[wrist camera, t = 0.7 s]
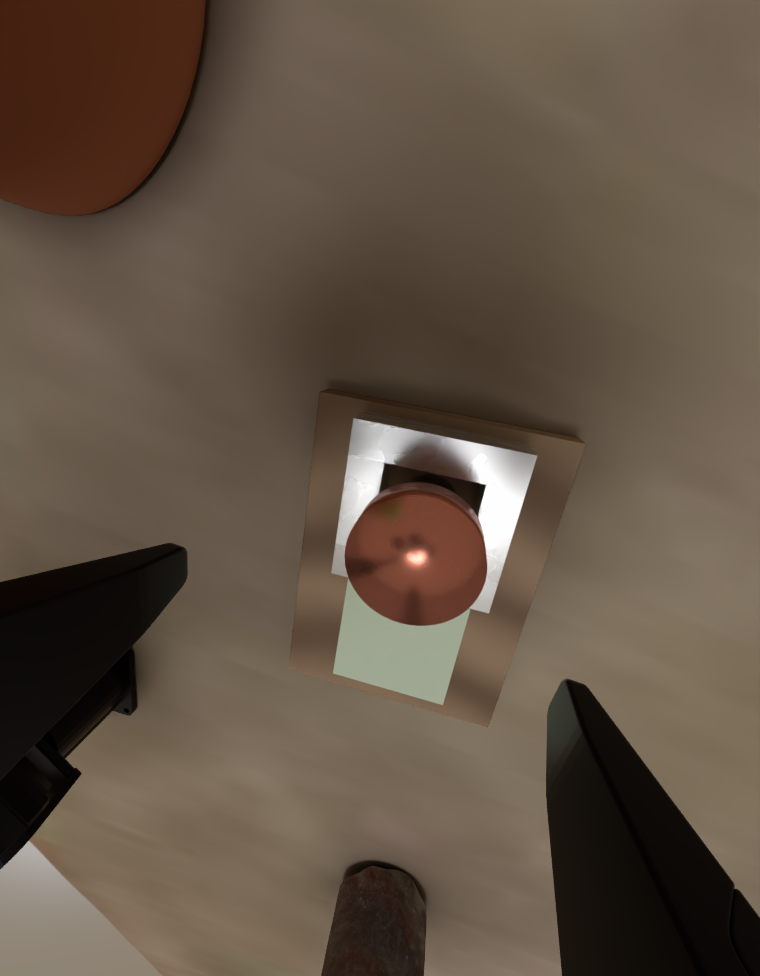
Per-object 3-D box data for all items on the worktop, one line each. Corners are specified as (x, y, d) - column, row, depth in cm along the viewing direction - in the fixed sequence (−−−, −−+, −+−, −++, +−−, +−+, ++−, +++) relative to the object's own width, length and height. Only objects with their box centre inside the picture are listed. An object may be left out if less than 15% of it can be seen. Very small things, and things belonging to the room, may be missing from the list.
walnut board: (486, 707, 26) (487, 727, 25) (297, 653, 28) (288, 669, 26) (577, 437, 20) (586, 444, 19) (328, 389, 22) (319, 391, 20)
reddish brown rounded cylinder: (466, 557, 22) (467, 641, 15) (372, 534, 22) (336, 606, 16) (491, 465, 20) (504, 516, 14) (388, 443, 21) (354, 482, 14)
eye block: (486, 585, 22) (488, 613, 20) (344, 551, 23) (331, 573, 21) (528, 443, 19) (537, 455, 17) (366, 411, 20) (353, 418, 18)
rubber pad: (443, 701, 25) (442, 705, 25) (334, 669, 26) (332, 673, 25) (470, 606, 22) (470, 609, 22) (349, 575, 23) (348, 578, 23)
